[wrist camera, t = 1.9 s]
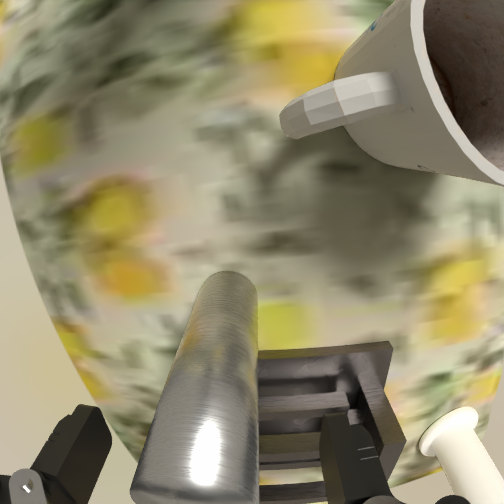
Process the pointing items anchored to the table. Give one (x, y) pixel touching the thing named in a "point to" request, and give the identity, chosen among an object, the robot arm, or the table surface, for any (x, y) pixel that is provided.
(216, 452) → the tube
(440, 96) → the mug
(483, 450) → the candle
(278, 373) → the bracket
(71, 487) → the robot arm
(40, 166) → the table surface
